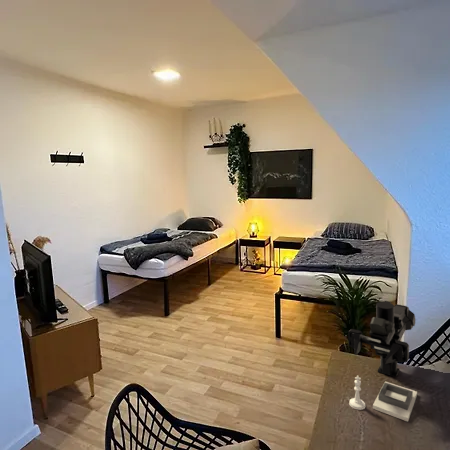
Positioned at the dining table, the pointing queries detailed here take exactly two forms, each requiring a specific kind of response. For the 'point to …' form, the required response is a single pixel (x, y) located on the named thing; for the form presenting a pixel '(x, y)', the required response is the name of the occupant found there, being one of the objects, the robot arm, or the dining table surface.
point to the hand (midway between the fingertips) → (369, 357)
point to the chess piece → (357, 396)
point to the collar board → (395, 401)
